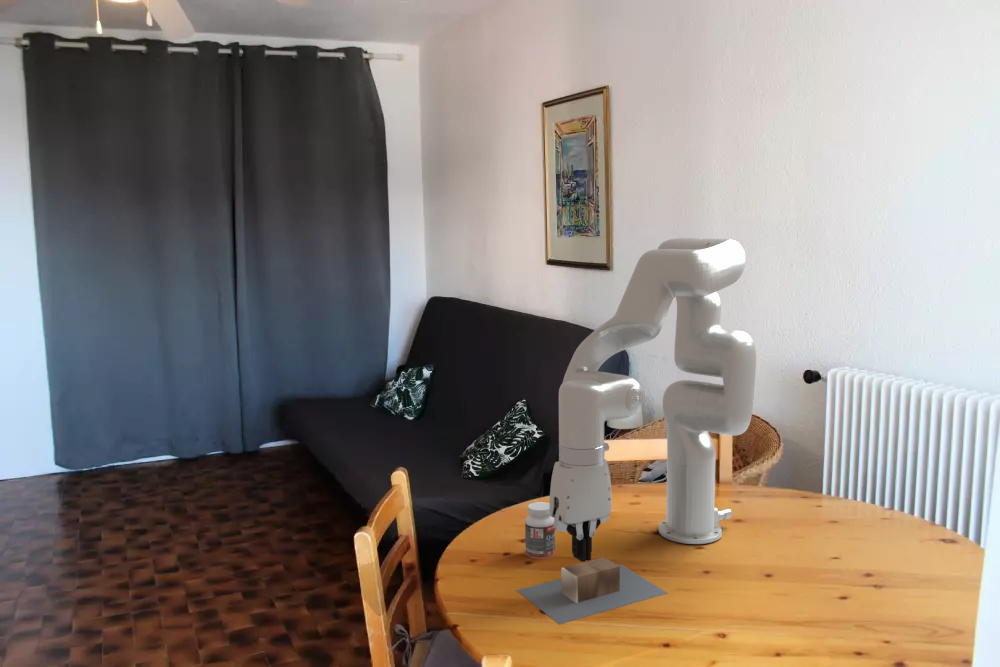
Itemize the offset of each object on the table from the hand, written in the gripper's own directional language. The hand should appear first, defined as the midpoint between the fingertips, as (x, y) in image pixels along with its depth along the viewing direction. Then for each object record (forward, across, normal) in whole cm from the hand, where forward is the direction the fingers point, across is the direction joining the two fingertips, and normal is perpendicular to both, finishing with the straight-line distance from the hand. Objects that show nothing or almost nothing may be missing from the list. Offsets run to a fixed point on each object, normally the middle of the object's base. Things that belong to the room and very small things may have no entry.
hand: (581, 558), depth 143 cm
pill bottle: (+7, -3, -19) cm, 21 cm away
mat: (+7, -2, 0) cm, 7 cm away
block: (+4, +3, 0) cm, 5 cm away
